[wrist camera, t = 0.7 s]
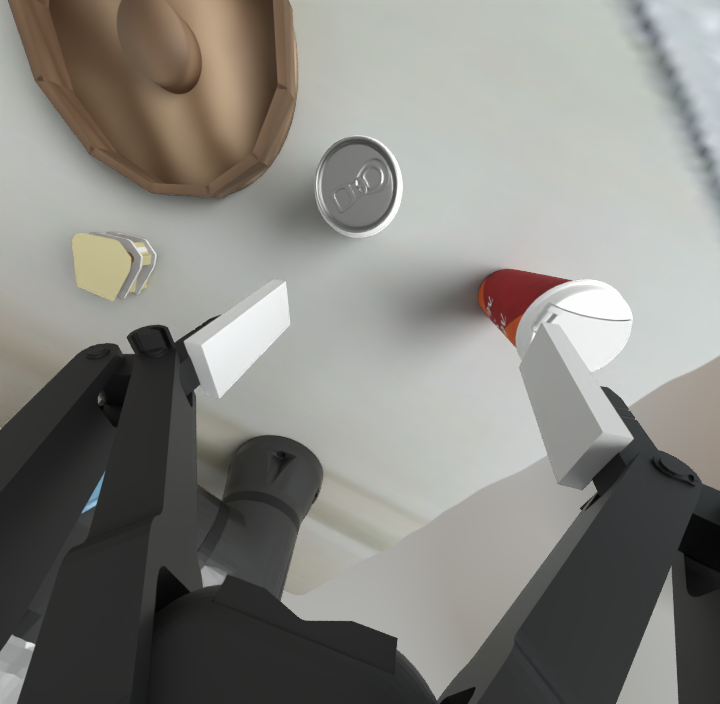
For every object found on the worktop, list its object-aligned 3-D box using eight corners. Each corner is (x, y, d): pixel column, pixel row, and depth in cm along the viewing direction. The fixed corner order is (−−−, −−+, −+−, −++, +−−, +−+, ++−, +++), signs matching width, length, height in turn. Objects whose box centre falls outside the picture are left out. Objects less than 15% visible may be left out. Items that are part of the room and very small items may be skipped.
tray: (175, 235, 32) (151, 236, 29) (4, -5, 25) (-57, -42, 21) (341, 122, 27) (335, 107, 23) (188, -229, 19) (146, -327, 16)
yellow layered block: (170, 311, 37) (137, 325, 32) (101, 280, 35) (55, 289, 30) (185, 238, 33) (150, 240, 28) (107, 199, 31) (56, 195, 26)
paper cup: (455, 307, 34) (501, 358, 21) (494, 246, 31) (576, 262, 18) (509, 334, 35) (585, 398, 22) (553, 278, 32) (670, 314, 19)
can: (406, 212, 30) (421, 205, 19) (354, 245, 31) (341, 256, 21) (376, 150, 28) (374, 101, 17) (322, 189, 29) (289, 168, 18)
